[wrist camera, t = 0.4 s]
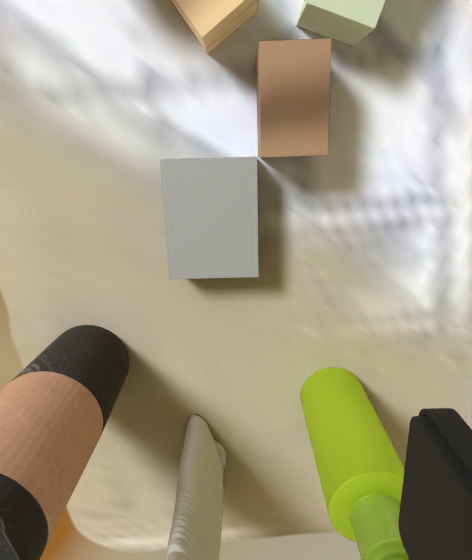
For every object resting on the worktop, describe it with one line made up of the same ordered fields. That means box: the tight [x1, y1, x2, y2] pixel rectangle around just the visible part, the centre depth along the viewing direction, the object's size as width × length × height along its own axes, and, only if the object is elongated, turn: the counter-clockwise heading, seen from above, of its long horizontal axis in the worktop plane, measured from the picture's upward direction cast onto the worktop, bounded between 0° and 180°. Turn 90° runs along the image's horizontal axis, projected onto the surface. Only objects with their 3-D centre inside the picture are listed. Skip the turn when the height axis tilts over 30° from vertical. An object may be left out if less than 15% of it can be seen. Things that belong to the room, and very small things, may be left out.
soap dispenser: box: [301, 368, 409, 560], centre depth 30 cm, size 6×7×20 cm
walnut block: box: [256, 38, 331, 158], centre depth 29 cm, size 7×4×5 cm, turn 2°
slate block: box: [160, 157, 258, 279], centre depth 33 cm, size 9×7×4 cm
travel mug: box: [0, 325, 129, 560], centre depth 29 cm, size 8×8×20 cm
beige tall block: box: [165, 414, 226, 560], centre depth 31 cm, size 11×4×22 cm, turn 12°
